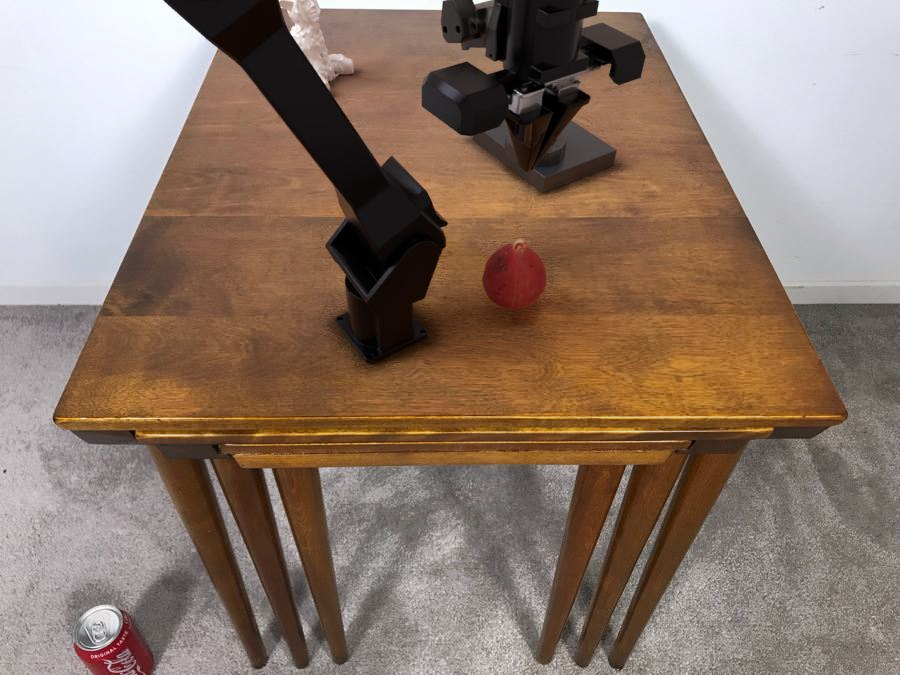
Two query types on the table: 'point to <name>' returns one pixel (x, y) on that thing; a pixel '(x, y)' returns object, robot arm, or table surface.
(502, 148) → the console
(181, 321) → the table surface
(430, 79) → the robot arm
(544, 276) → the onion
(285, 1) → the seated beast figurine
